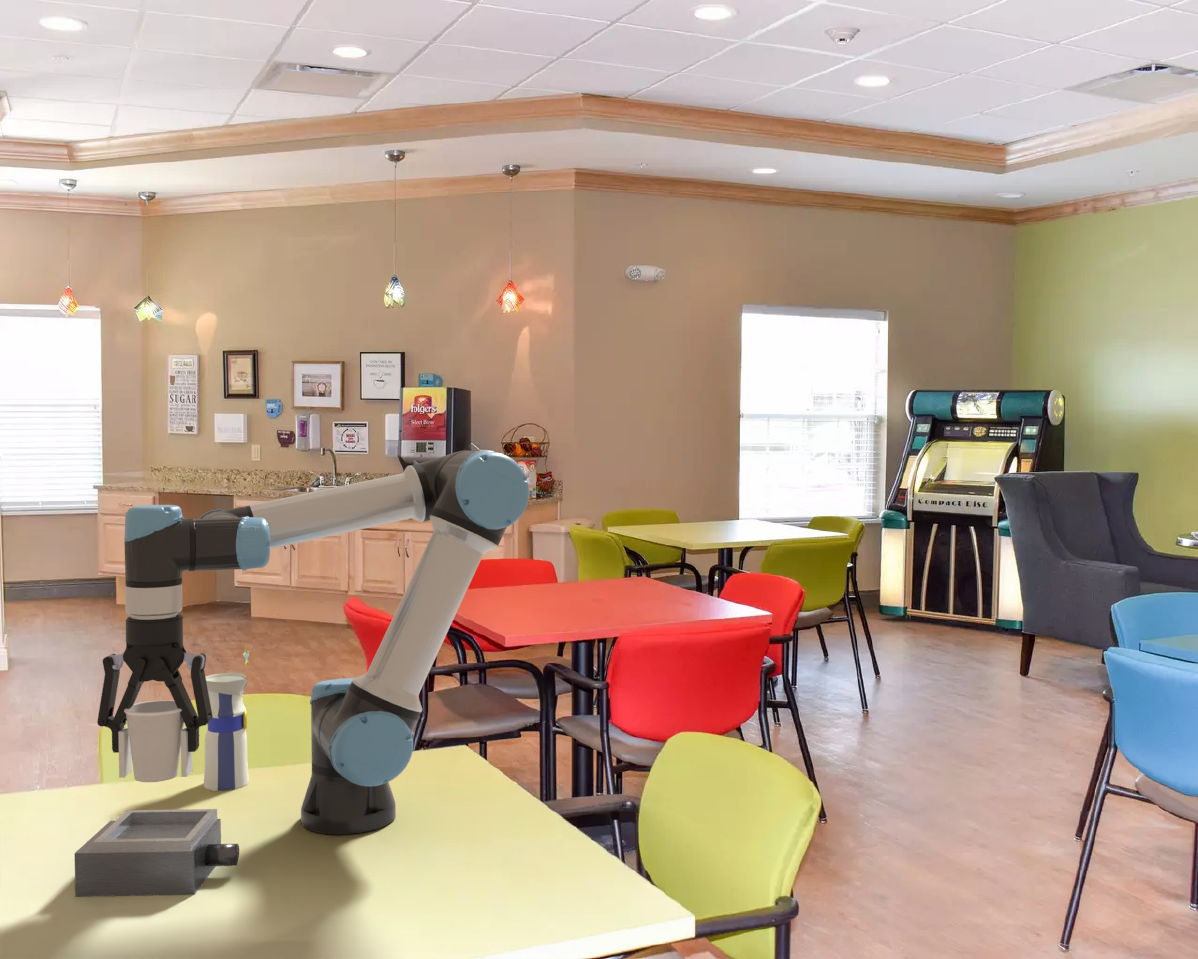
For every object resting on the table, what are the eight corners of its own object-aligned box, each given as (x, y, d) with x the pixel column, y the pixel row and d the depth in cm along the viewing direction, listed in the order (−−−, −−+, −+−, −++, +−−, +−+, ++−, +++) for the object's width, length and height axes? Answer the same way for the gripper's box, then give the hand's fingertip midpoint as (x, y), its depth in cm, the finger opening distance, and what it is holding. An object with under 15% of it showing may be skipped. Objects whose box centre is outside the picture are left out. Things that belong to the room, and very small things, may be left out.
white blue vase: (250, 774, 210) (248, 640, 209) (251, 788, 202) (250, 648, 201) (203, 778, 208) (201, 642, 207) (202, 792, 200) (200, 651, 199)
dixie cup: (149, 788, 156) (149, 715, 155) (111, 778, 160) (111, 708, 160) (200, 774, 163) (199, 704, 162) (162, 765, 167) (162, 697, 167)
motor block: (248, 858, 169) (247, 808, 169) (224, 893, 156) (223, 839, 156) (111, 860, 168) (110, 810, 168) (75, 896, 155) (74, 842, 155)
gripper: (236, 610, 165) (237, 765, 166) (89, 610, 164) (92, 767, 165) (221, 618, 157) (223, 781, 158) (68, 619, 156) (70, 783, 157)
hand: (156, 774), depth 161 cm, fingers closed on dixie cup, 8 cm apart
